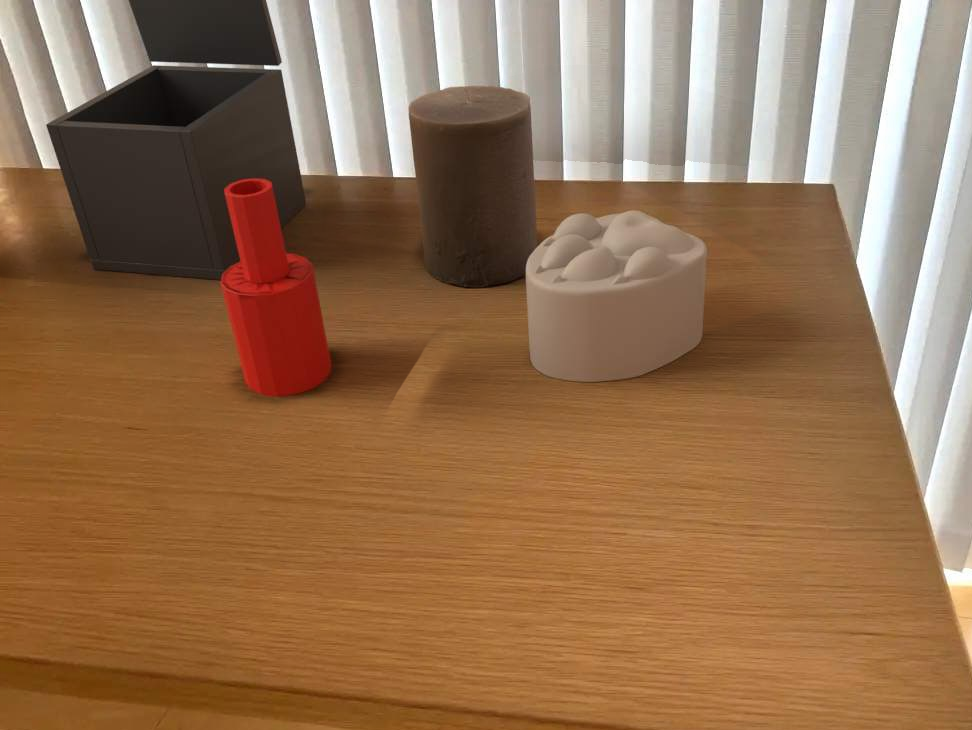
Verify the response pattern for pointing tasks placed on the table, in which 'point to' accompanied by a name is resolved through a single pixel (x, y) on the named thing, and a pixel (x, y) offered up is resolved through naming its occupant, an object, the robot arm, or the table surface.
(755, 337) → the table surface
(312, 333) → the bottle
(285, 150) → the bin
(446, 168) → the pillar candle
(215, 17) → the lid
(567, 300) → the lumpy-topped squat cylinder
